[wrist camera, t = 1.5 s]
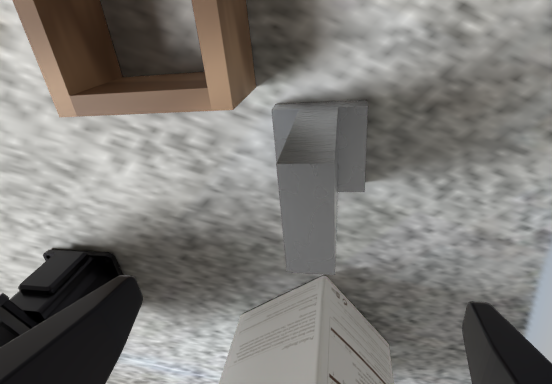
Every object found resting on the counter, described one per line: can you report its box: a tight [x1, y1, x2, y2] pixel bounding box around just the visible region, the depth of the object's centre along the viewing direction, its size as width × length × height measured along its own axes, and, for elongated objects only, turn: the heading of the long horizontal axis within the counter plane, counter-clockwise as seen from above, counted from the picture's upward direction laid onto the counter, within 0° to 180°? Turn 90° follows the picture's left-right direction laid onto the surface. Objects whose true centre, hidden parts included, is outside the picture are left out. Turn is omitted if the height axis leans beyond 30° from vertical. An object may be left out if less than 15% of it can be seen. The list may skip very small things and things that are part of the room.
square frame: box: [13, 0, 256, 117], centre depth 16 cm, size 9×9×4 cm
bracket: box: [272, 100, 368, 275], centre depth 16 cm, size 5×5×8 cm
